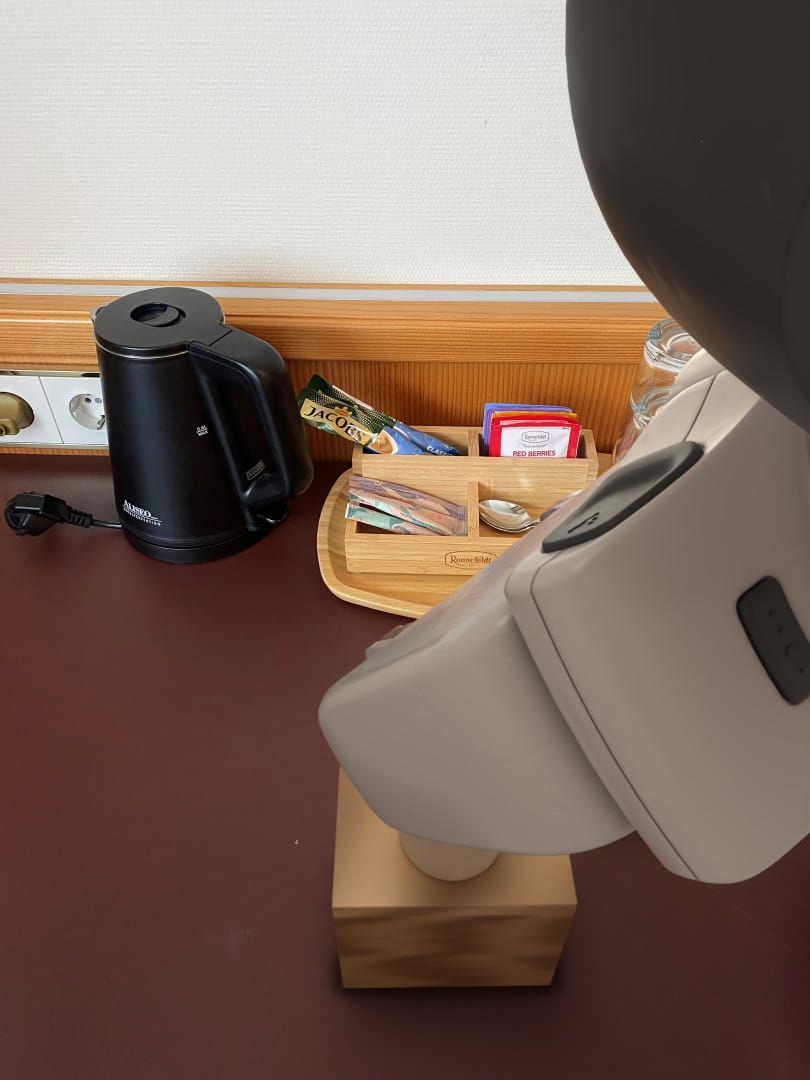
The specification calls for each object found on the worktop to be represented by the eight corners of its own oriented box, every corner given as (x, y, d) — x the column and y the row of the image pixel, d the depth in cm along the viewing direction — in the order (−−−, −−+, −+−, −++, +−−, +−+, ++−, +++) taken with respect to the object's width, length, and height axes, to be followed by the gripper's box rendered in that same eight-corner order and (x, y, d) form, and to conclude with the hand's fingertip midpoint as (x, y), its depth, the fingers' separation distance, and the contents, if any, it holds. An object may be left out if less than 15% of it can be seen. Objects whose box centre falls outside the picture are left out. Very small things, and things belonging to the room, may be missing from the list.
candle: (377, 843, 41) (371, 731, 34) (435, 765, 44) (441, 650, 38) (468, 905, 39) (482, 798, 32) (522, 818, 42) (546, 705, 35)
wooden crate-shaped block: (343, 988, 46) (331, 907, 39) (348, 857, 52) (339, 765, 44) (550, 985, 46) (578, 904, 39) (532, 855, 52) (554, 763, 44)
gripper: (948, 234, 23) (600, 400, 34) (486, 627, 12) (206, 673, 23) (1042, 428, 23) (669, 525, 35) (688, 967, 12) (318, 848, 24)
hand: (480, 587), depth 29 cm, fingers open, 8 cm apart
